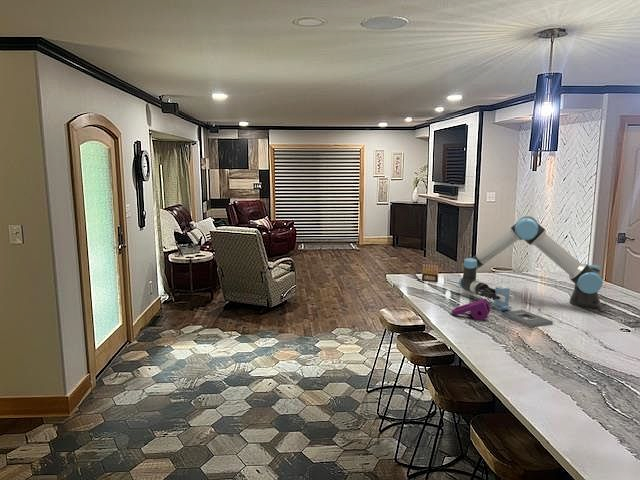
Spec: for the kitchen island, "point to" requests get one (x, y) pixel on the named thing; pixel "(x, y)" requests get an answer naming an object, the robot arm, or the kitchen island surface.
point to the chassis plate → (531, 322)
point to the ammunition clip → (430, 273)
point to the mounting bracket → (474, 309)
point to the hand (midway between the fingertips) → (508, 299)
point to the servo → (499, 304)
